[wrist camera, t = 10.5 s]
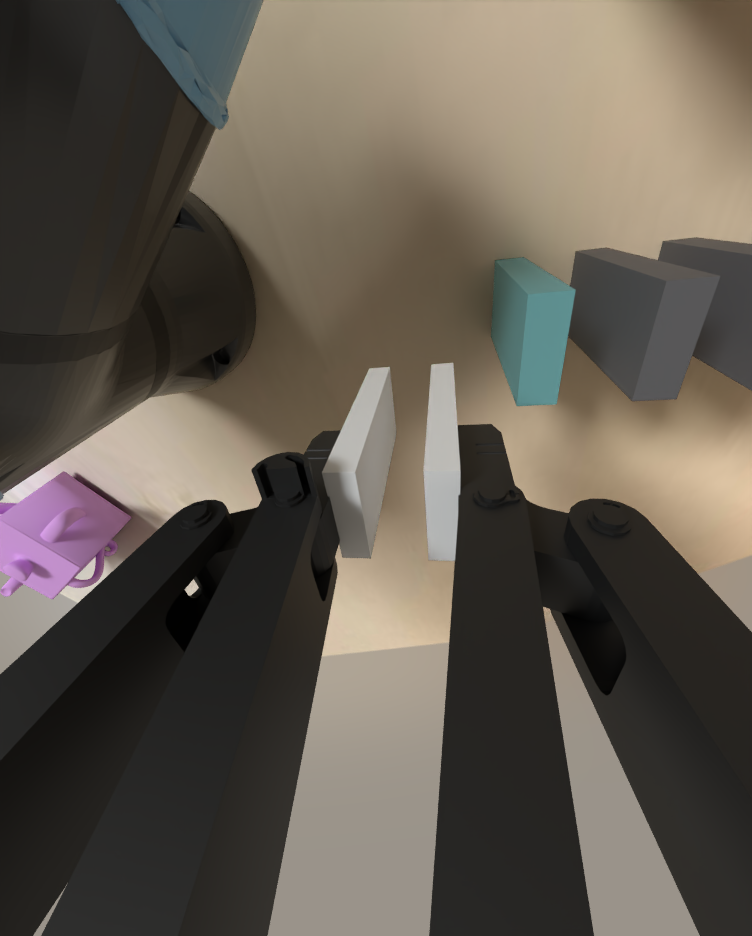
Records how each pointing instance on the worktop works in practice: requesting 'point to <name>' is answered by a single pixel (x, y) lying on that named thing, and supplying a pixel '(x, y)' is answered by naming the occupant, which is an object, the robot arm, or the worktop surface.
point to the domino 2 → (639, 319)
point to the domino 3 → (721, 302)
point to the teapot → (56, 536)
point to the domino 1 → (530, 329)
